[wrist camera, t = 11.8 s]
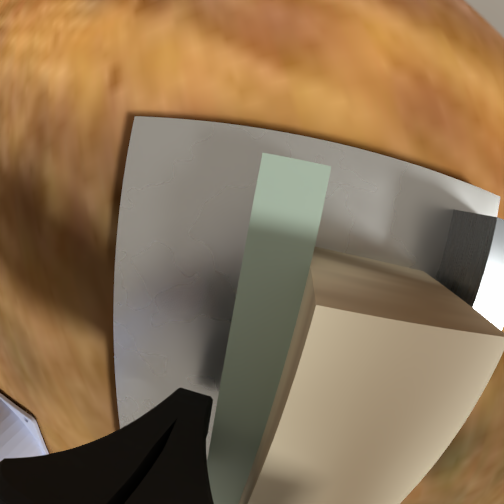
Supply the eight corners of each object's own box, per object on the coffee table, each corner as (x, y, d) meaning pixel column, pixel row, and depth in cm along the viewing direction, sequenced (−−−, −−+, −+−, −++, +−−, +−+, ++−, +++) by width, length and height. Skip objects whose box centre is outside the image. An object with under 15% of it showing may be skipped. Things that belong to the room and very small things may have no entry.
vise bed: (134, 467, 14) (110, 506, 11) (147, 121, 10) (90, 99, 7) (338, 512, 13) (339, 556, 10) (486, 195, 9) (546, 202, 5)
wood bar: (241, 481, 12) (220, 561, 7) (306, 244, 9) (316, 304, 4) (319, 492, 12) (316, 572, 7) (423, 271, 9) (509, 337, 4)
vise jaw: (206, 499, 13) (195, 532, 10) (272, 162, 9) (262, 152, 6) (233, 505, 12) (224, 539, 10) (322, 172, 9) (330, 166, 6)
